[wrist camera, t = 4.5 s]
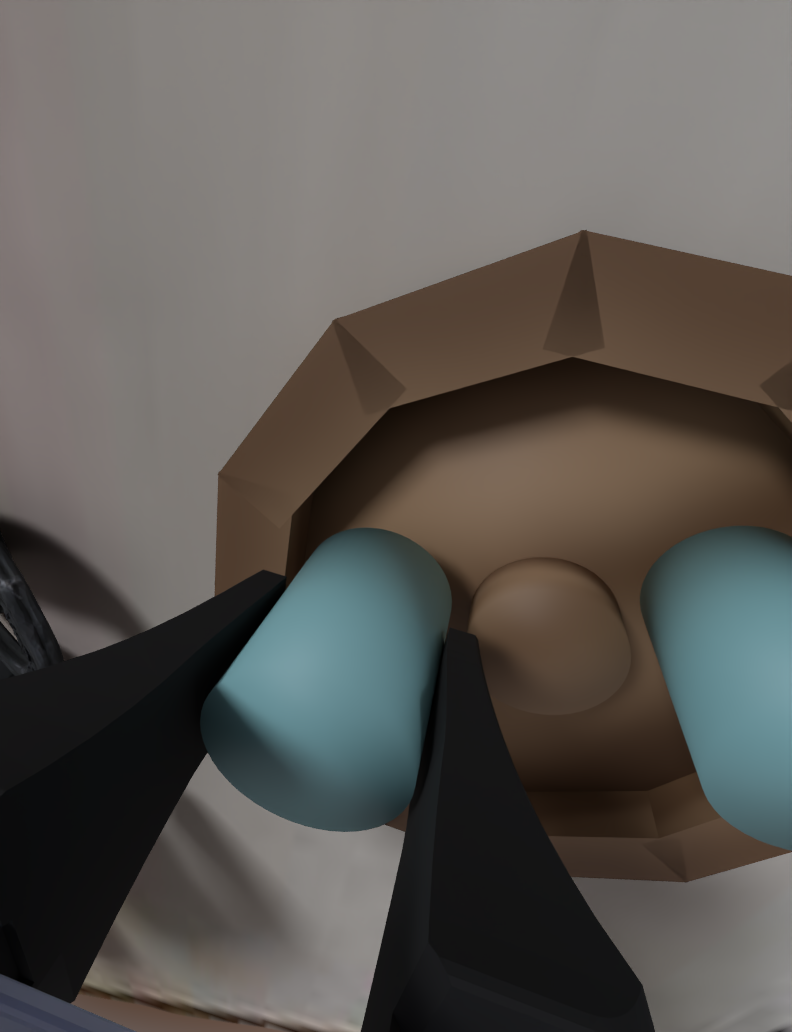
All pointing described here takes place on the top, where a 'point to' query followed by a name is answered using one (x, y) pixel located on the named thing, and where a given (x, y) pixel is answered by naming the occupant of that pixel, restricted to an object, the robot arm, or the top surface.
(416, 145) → the top surface
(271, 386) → the top surface
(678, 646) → the seated bead
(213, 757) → the bead
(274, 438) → the groove tray
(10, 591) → the milk frother
